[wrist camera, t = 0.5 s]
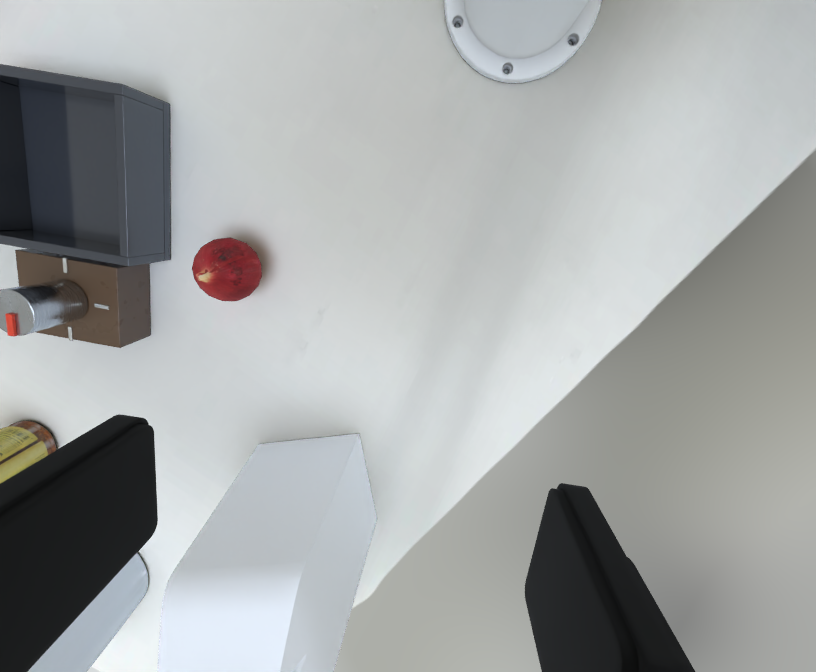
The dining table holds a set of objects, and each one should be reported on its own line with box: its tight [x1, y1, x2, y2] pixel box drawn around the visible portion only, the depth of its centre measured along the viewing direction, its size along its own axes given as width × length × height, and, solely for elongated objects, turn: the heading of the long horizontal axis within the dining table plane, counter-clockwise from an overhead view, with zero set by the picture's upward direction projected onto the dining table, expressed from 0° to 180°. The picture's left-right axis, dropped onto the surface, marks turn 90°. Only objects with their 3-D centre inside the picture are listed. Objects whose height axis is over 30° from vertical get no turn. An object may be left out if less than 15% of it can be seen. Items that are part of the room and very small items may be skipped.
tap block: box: [15, 249, 151, 348], centre depth 42 cm, size 8×10×5 cm
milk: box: [157, 433, 377, 672], centre depth 36 cm, size 12×12×26 cm
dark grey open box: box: [0, 64, 170, 266], centre depth 38 cm, size 15×15×6 cm
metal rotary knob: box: [0, 280, 88, 336], centre depth 37 cm, size 4×4×6 cm
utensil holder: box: [28, 553, 148, 672], centre depth 47 cm, size 15×15×18 cm
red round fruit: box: [192, 238, 262, 301], centre depth 38 cm, size 6×6×8 cm
